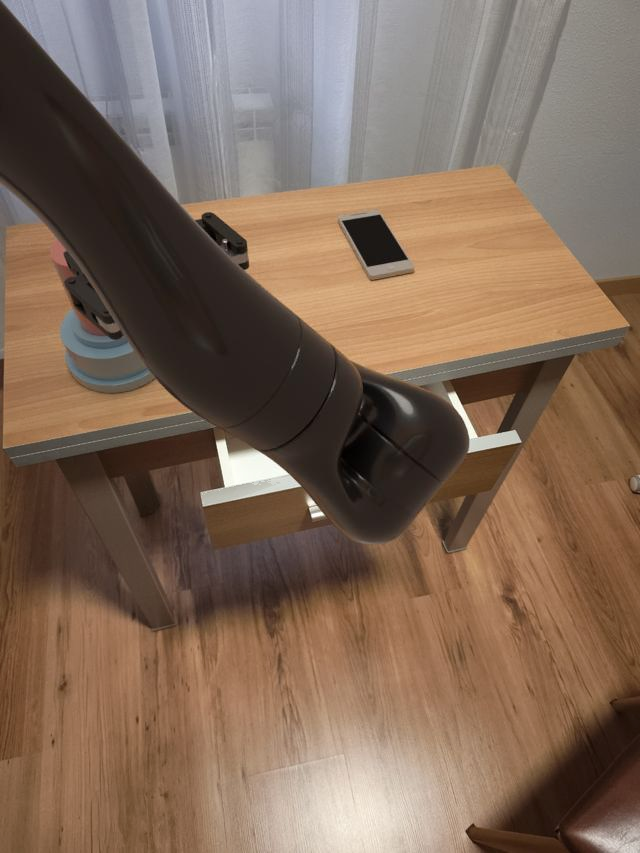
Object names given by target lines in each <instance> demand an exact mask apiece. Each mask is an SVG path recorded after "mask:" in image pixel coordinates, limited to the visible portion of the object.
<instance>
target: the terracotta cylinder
mask: <svg viewBox="0 0 640 853" xmlns="http://www.w3.org/2000/svg"><path fill="white" fill-rule="evenodd" d="M66 251H67V250H66V249H65V248H64V247H63V245H62V244H61V243H60V242H59V240H58V239H57V238H56V240H55V241H54V242H53V243H51V246H50V249H49V257H50V259H51V261H52V263H53V265H54V268H55V270H56V273H57V275H58V277H59V280H60V282H61V285H62V287H63V289H64V291H65V294H66V297H67V298H68V301H69V303H70V305H71V307H72V308H73V310H74V312H75V314H76V317H77V319H78V321H79V324H80V326H81V327H82V329H83V330H85V331H86V332H88V333H90V334H93V335H98V336H105V335H106V334H104V333H103V332H102V331H101V330H100V329H99V328H97V327H96V326H95V325H94V324H93V323H92V322H91V321H89V320H88V319H87V318H86V317H85V316H84V315H82V314H81V313H80V312H79V311H78V310H77V309H75V307H74V305H73V301H72V298H71V296H70V294H69V292H68V290H67V289H66V286H65V284H64V282H65V280H66V279H67V278H69V277H76V276H75V275H74V274H73V273H72V272H71V271H70V270H69V267H68V265H67V262H66V260H65V258H64V254H63V252H66Z"/></svg>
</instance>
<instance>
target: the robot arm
mask: <svg viewBox="0 0 640 853" xmlns="http://www.w3.org/2000/svg"><path fill="white" fill-rule="evenodd" d="M0 185H2V186H3V187H4V188H5V189H6V190H8V191H9V192H10V193H11V194H12V195H14V196H15V197H16V198H17V199H18V200H20V201H21V203H22V204H24V205H25V207H27V208H28V209H29V210H30V211H31V212H32V213H33V214H34V215H35V216H36V217H37V218H38V219H39V220H40V221H41V223H42V224H44V226H46V228H48V230H49V231H50V233H52V234H53V235H54V237H55V238H56V240H57V239H58V240H59V242H60V243H61V244H62V245H63V247H64V248H65V249H66V250H67V251H66V252H63V254H64V258H65V260H66V262H67V265H68V267H69V270H70V271H71V272H72V273H73V274H74V275H75V276H76V277H69V278H67V279H66V280H65V282H64V284H65V286H66V289H67V290H68V292H69V294H70V296H71V298H72V301H73V305H74V307H75V309H77V310H78V311H79V312H80V313H81V314H82V315H84V316H85V317H86V318H87V319H88V320H89V321H91V322H92V323H93V324H94V325H95V326H96V327H97V328H99V329H100V330H101V331H102V332H103V333H104V334H106V335H107V336H108V337H109V338H110V339H113V340H117V339H120V338H122V337H123V336H125V338H126V339H127V341H128V342H129V344H130V346H131V347H132V349H133V350H134V352H135V353H136V354H137V356H138V357H139V358H140V360H141V361H142V362H143V364H144V365H145V366H146V368H147V369H148V370H149V371H150V372H151V374H152V375H153V376H154V377H155V380H156V381H157V382H158V384H159V385H161V386H162V387H163V389H165V390H166V391H167V392H168V394H170V396H172V397H173V398H174V399H175V400H177V401H178V402H179V403H180V404H181V405H182V406H184V407H185V408H187V409H188V410H189V411H191V412H192V413H194V414H195V415H197V417H200V418H202V419H203V420H205V421H206V422H208V423H210V424H212V425H213V426H215V427H217V428H218V429H219V430H221V431H223V432H225V433H227V434H229V435H231V436H232V437H234V438H235V439H237V440H238V441H241V443H244V444H246V445H248V446H249V447H251V448H253V449H254V450H256V451H257V452H259V453H260V454H262V455H264V456H265V457H267V458H268V459H269V460H271V461H272V462H274V463H275V464H276V465H278V466H279V467H280V468H281V469H282V470H284V471H285V472H286V473H287V474H288V475H289V476H290V477H291V478H292V479H293V480H294V481H295V482H296V483H297V484H298V485H299V486H300V487H301V488H302V489H303V491H305V493H306V494H307V495H308V496H309V498H311V500H312V501H313V503H314V504H315V505H316V506H317V508H318V509H319V510H320V511H321V513H322V514H323V515H324V516H325V517H326V519H327V520H328V521H329V522H330V523H331V524H332V525H333V526H334V527H335V528H336V530H338V531H339V532H340V533H341V534H343V535H344V536H345V537H346V538H348V539H350V540H352V541H353V542H355V543H359V544H362V545H367V546H368V545H369V546H378V545H379V546H380V545H384V544H388V543H390V542H393V541H394V540H396V539H398V538H399V537H400V536H402V534H404V533H405V532H406V530H407V529H408V528H409V527H410V526H411V524H412V523H413V522H414V521H415V520H416V519H417V517H418V516H419V515H420V514H421V513H422V511H423V510H424V509H425V507H426V506H427V505H428V504H429V503H430V502H431V500H432V499H433V498H434V497H435V495H436V494H437V493H438V492H439V491H440V490H441V488H442V487H443V486H444V483H445V482H447V481H448V480H449V479H450V478H451V476H452V475H453V474H454V473H455V472H456V471H457V470H458V468H459V467H460V466H461V464H462V463H463V462H464V460H465V459H466V457H467V455H468V454H469V450H470V434H469V430H468V427H467V425H466V422H465V421H464V419H463V417H462V416H461V414H460V412H459V411H458V409H456V408H455V407H454V406H453V404H451V403H450V402H449V401H447V400H446V399H445V398H443V397H441V396H440V395H438V394H437V393H435V392H433V391H431V390H428V389H426V388H424V387H421V386H419V385H416V384H414V383H412V382H409V381H405V380H402V379H399V378H396V377H393V376H390V375H388V374H384V373H381V372H379V371H376V370H373V369H371V368H368V367H366V366H364V365H362V364H360V363H357V362H355V361H353V360H351V359H350V358H348V357H347V356H346V355H345V354H344V353H342V352H341V351H340V350H339V349H338V348H336V346H334V345H333V344H332V343H331V342H330V341H328V340H327V339H326V338H325V337H324V336H322V335H321V334H320V333H319V332H318V331H317V330H315V329H314V328H313V327H311V326H310V325H309V323H307V322H306V321H304V319H302V318H301V317H300V316H299V315H298V314H296V313H295V312H294V311H292V309H290V308H289V307H288V306H287V305H285V304H284V303H283V302H282V301H281V300H280V299H278V298H277V297H276V296H275V295H273V294H272V293H271V292H270V291H268V290H267V289H266V288H265V287H264V286H263V285H262V284H261V283H260V282H258V281H257V280H256V279H255V278H253V276H252V275H250V273H248V272H247V271H246V270H248V269H249V268H250V259H249V258H250V257H249V248H248V241H247V239H245V238H244V237H243V236H242V235H241V234H240V233H238V232H237V231H236V230H235V229H233V227H231V226H230V225H229V224H227V223H226V222H225V221H224V220H223V219H222V218H220V217H219V216H218V215H217V214H215V213H214V212H211V211H206V212H204V213H202V214H201V218H199V219H195V218H193V217H192V215H190V213H189V212H188V211H187V210H186V209H185V208H184V207H183V205H181V203H179V201H178V200H177V199H176V198H175V197H174V196H173V195H172V193H171V192H170V191H169V190H168V189H167V188H166V186H165V185H164V184H163V183H162V181H160V180H159V179H158V177H157V176H156V174H154V172H153V171H151V169H150V168H149V167H148V165H147V164H145V162H144V161H143V160H142V159H141V158H140V156H139V155H138V154H137V153H136V152H135V151H134V150H133V149H132V147H131V146H130V145H129V144H128V142H126V140H125V139H124V138H123V137H122V136H121V135H120V134H119V132H118V131H117V130H116V129H115V128H114V127H113V125H112V124H111V123H110V122H109V121H108V120H107V119H106V118H105V117H104V115H103V114H102V113H101V112H100V111H99V110H98V108H97V107H96V106H95V105H94V104H93V103H92V102H91V101H90V99H88V97H87V96H86V95H85V94H84V93H83V91H81V89H79V87H78V86H77V85H76V84H75V83H74V82H73V81H72V80H71V78H70V77H69V76H67V74H66V73H65V72H64V71H63V70H62V69H61V67H60V66H59V65H58V64H57V62H55V60H53V58H52V57H51V56H50V55H49V53H47V51H46V50H45V49H44V48H43V47H42V45H41V44H40V43H39V42H38V41H37V40H36V39H35V38H34V36H32V34H31V33H30V32H29V31H28V29H27V28H26V27H25V26H24V25H23V23H22V22H20V20H19V19H18V18H17V17H16V15H15V14H13V12H12V11H11V9H9V8H8V6H7V5H6V4H5V3H4V2H3V1H2V0H0Z"/></svg>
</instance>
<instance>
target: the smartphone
mask: <svg viewBox="0 0 640 853" xmlns="http://www.w3.org/2000/svg"><path fill="white" fill-rule="evenodd" d="M337 223H338V225H339V227H340V228H341V230H342V232H343V235H344V236H345V237H346V239H347V241H348V243H349V245H350V247H351V248H352V250H353V252H354V254H355V256H356V258H357V259H358V261H359V263H360V265H361V267H362V269H363V270H364V272H365V275H366V276H367V278H368V279H369V280H370V281H374V280H378V279H385V278H390V277H395V276H400V275H405V274H411V273H414V270H415V265H414V263H413V261H412V260H411V259H410V257H409V256H408V254H407V252H406V251H405V249H404V248H403V246H402V244H401V243H400V241H399V240H398V238H397V237H396V235H395V233H394V232H393V230H392V229H391V227H390V225H389V224H388V223H387V220H386V219H385V218H384V216H383V214H382V212H381V211H380V209H377V208H376V209H370V210H364V211H358V212H353V213H352V212H351V213H346V214H339V215H338V216H337Z"/></svg>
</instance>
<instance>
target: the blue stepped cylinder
mask: <svg viewBox="0 0 640 853" xmlns="http://www.w3.org/2000/svg"><path fill="white" fill-rule="evenodd" d="M59 328H60V330H59V335H60V339H61V342H62V343H63V346H64V348H65V353H64V356H65V363H66V365H67V368H68V370H69V372H70V374H71V376H72V377H73V379H74V380H75V381H76V382H77V383H78V384H79V385H81V386H82V387H84V388H86V389H89V390H91V391H94V392H98V393H104V394H105V393H107V394H116V393H117V394H118V393H125V392H126V393H127V392H129V391H133V390H137V389H139V388H141V387H144V386H146V385H147V384H149V383H151V382H153V381H154V380H156V378H155V377H154V376H153V375H152V374H151V372H150V371H149V370H148V369H147V368H146V366H145V365H144V364H143V362H142V361H141V360H140V358H139V357H138V356H137V354H136V353H135V352H134V350H133V349H132V347H131V346H130V344H129V342H128V341H127V339H126V338H125V336H123V337H122V338H120V339H117V340H113V339H110V338H109V337H108V336H107V335H105V336H98V335H93V334H90V333H88V332H86V331H85V330H83V329H82V327H81V326H80V324H79V321H78V319H77V317H76V314H75V312H74V310H73V307H72V308H71V309H70V310H69V311H68V312H67V313H66V314H65V316H64V317H63V319H62V320H61V324H60V327H59Z"/></svg>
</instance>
